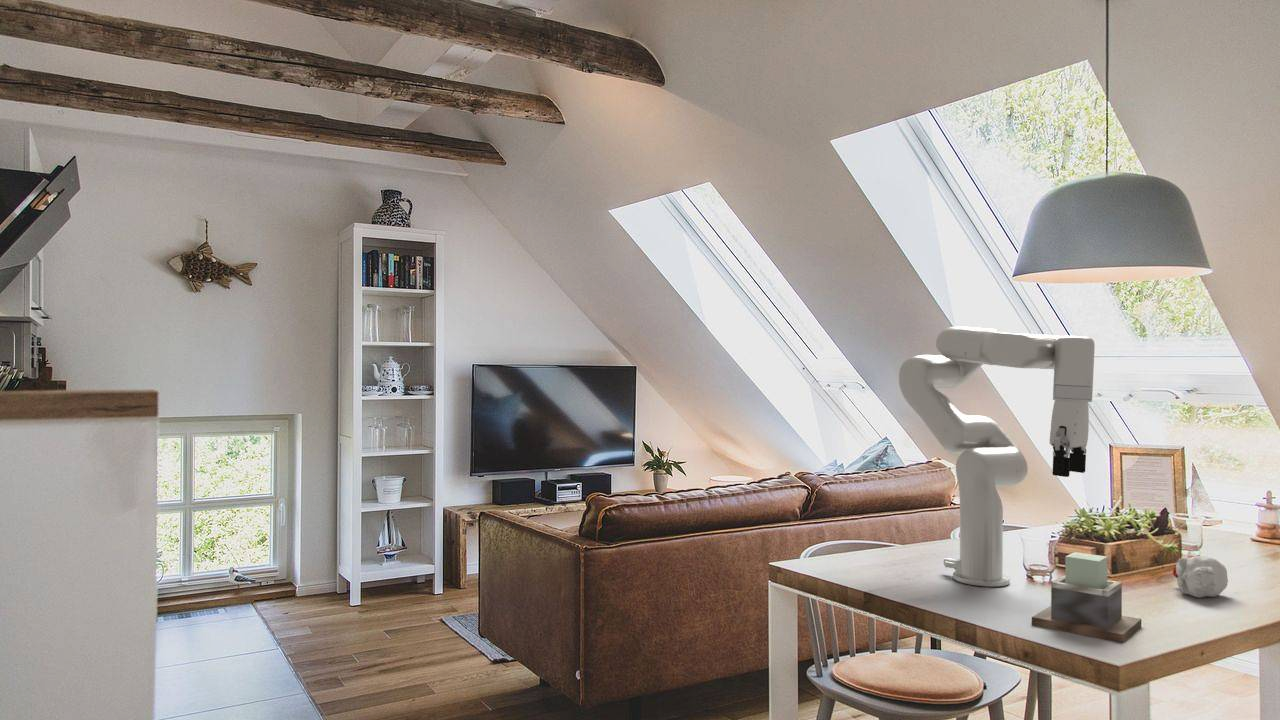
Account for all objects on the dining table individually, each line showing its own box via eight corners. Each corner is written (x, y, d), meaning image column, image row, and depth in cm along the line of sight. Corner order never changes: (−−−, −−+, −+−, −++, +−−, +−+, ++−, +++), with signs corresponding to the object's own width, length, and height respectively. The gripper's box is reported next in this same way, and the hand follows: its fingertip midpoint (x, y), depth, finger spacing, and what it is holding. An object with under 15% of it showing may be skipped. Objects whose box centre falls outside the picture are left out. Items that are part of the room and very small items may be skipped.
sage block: (1065, 587, 168) (1065, 556, 168) (1074, 581, 172) (1074, 552, 173) (1098, 592, 164) (1099, 561, 164) (1107, 587, 168) (1107, 556, 168)
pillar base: (1031, 624, 168) (1031, 581, 168) (1054, 610, 179) (1054, 569, 179) (1122, 642, 157) (1122, 596, 158) (1141, 626, 168) (1141, 583, 168)
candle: (1200, 600, 186) (1154, 591, 201) (1249, 600, 187) (1200, 591, 202) (1196, 558, 187) (1151, 552, 202) (1245, 557, 188) (1196, 552, 203)
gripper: (1068, 391, 191) (1064, 468, 192) (1039, 393, 179) (1035, 475, 180) (1104, 394, 186) (1101, 472, 186) (1077, 396, 174) (1073, 480, 174)
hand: (1069, 473), depth 183 cm, fingers open, 9 cm apart
